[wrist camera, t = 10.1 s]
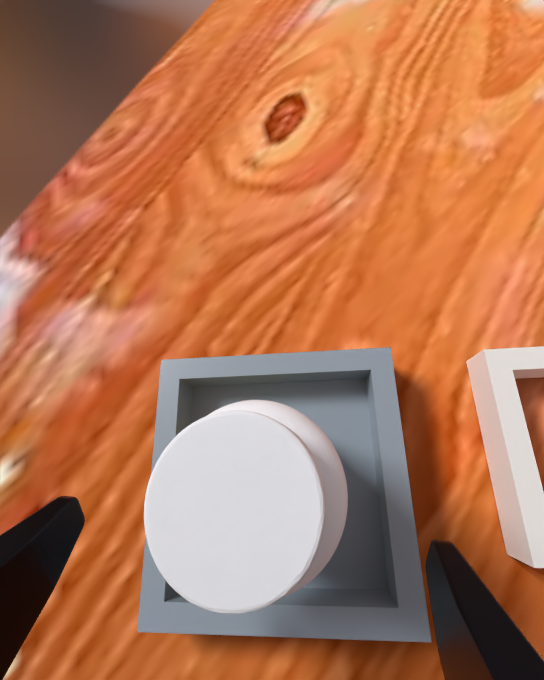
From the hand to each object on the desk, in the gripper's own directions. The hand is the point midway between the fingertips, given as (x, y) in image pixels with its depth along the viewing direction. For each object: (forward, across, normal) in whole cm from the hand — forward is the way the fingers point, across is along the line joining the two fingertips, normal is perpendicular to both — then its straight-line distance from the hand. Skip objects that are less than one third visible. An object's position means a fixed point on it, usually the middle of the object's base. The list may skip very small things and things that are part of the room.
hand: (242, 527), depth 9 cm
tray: (+7, 0, +5) cm, 9 cm away
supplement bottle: (+6, 0, +5) cm, 8 cm away
